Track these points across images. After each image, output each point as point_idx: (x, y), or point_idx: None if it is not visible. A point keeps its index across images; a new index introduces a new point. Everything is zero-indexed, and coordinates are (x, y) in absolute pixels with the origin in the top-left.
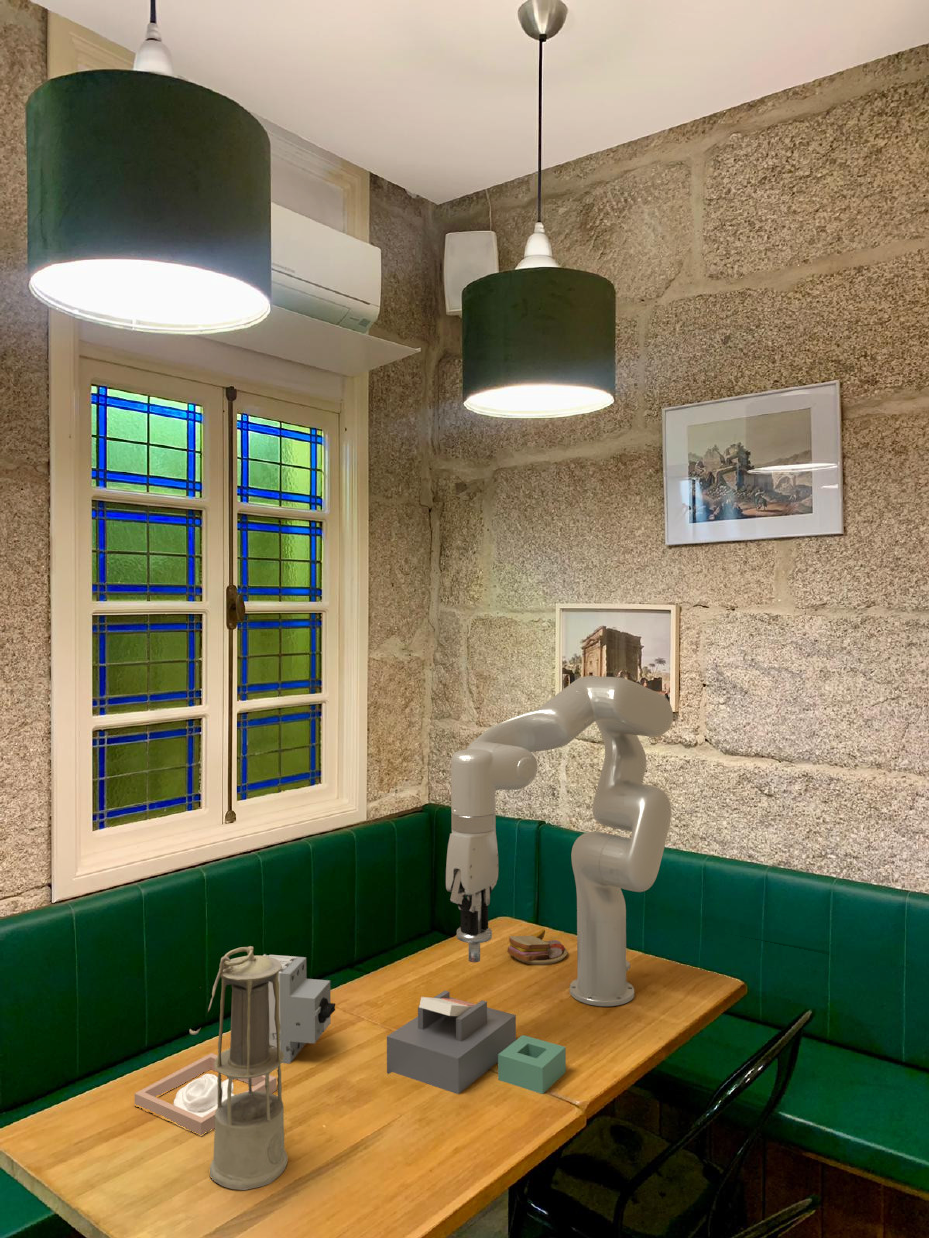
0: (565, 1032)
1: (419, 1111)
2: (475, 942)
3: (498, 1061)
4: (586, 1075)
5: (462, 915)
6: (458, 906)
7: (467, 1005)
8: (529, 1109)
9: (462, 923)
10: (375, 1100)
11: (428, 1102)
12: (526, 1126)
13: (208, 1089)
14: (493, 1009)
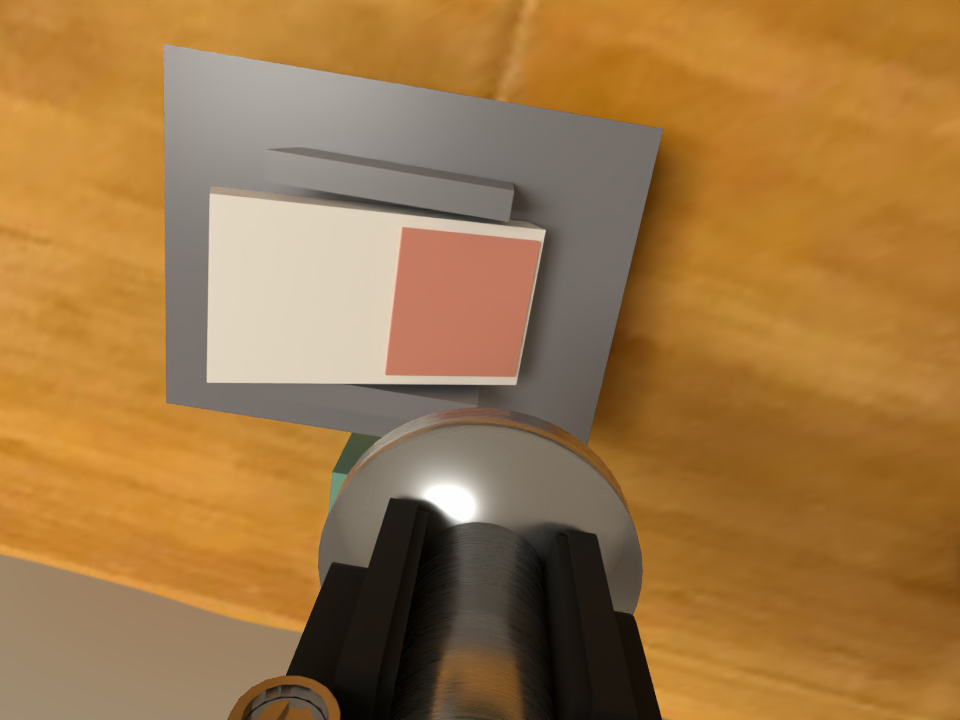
0: (739, 512)
1: (97, 283)
2: None
3: (337, 462)
4: None
5: (293, 658)
6: (229, 716)
7: (385, 373)
8: (269, 542)
9: (320, 590)
10: (66, 119)
11: (152, 286)
12: (196, 557)
13: None
14: (600, 374)
